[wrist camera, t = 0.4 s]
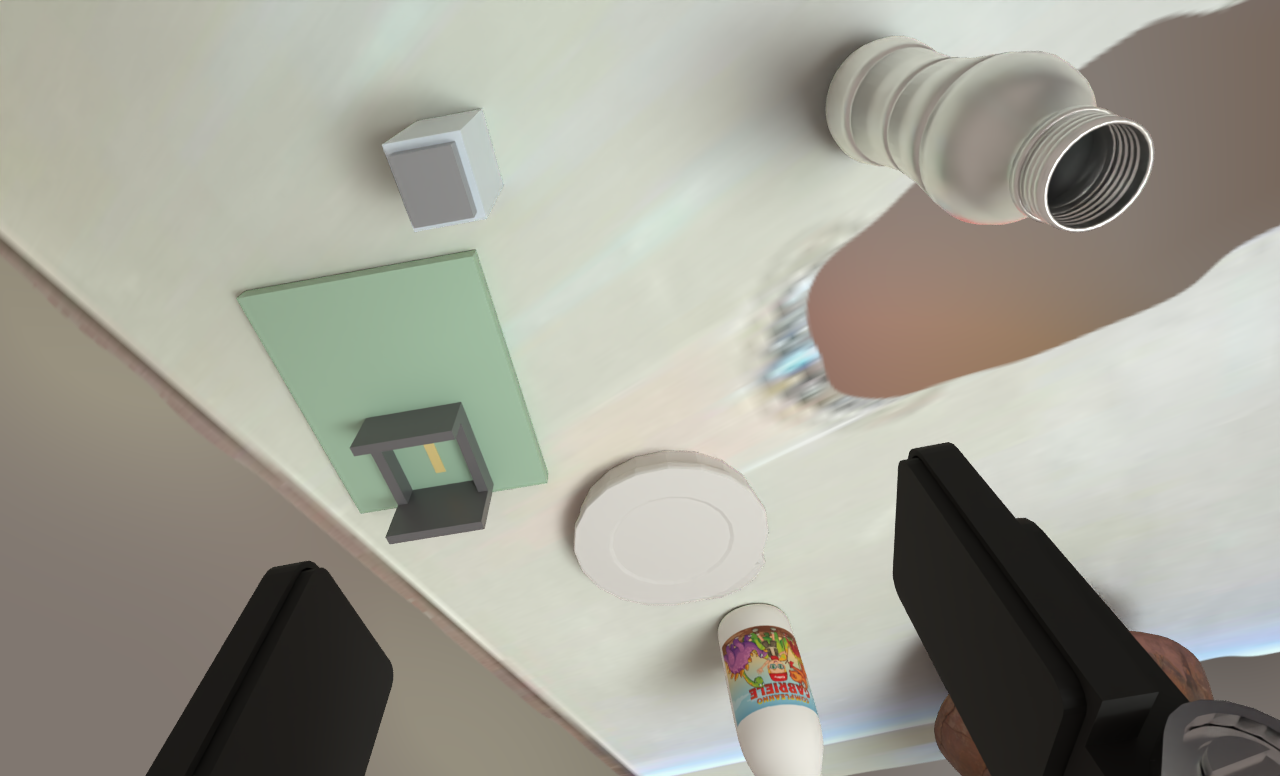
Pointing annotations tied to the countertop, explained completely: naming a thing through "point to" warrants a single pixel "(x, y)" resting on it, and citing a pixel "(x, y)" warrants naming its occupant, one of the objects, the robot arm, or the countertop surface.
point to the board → (400, 368)
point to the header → (439, 504)
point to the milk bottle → (770, 693)
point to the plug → (445, 170)
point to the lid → (671, 530)
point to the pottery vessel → (1163, 650)
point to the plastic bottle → (990, 133)
